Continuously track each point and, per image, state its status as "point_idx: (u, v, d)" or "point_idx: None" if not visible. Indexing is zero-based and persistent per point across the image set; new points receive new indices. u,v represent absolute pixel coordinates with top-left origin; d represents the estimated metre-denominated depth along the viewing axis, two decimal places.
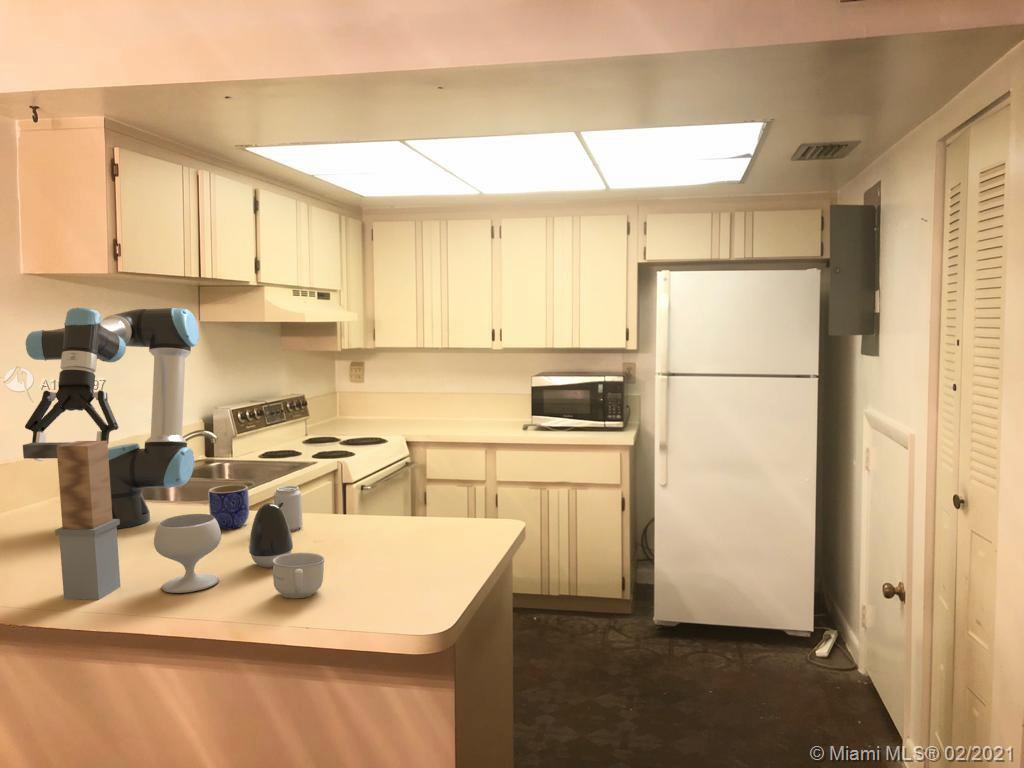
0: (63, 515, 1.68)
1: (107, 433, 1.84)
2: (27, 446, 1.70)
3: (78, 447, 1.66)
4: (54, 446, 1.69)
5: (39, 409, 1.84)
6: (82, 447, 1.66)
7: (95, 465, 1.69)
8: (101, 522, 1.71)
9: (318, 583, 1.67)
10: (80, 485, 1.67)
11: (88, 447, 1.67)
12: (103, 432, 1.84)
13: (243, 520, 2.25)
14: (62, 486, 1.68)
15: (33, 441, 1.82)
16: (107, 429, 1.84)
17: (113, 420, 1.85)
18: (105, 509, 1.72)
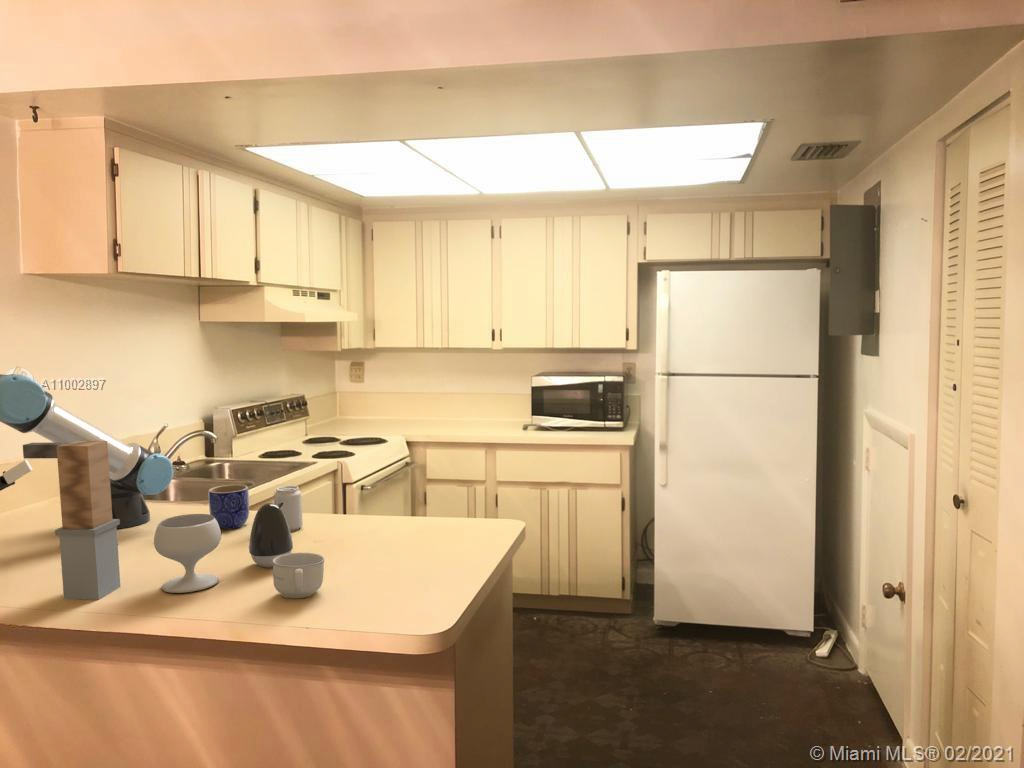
0: (63, 515, 1.68)
1: None
2: (27, 446, 1.70)
3: (78, 447, 1.66)
4: (54, 446, 1.69)
5: None
6: (82, 447, 1.66)
7: (95, 465, 1.69)
8: (101, 522, 1.71)
9: (318, 583, 1.67)
10: (80, 485, 1.67)
11: (88, 447, 1.67)
12: None
13: (243, 520, 2.25)
14: (62, 486, 1.68)
15: None
16: None
17: None
18: (105, 509, 1.72)
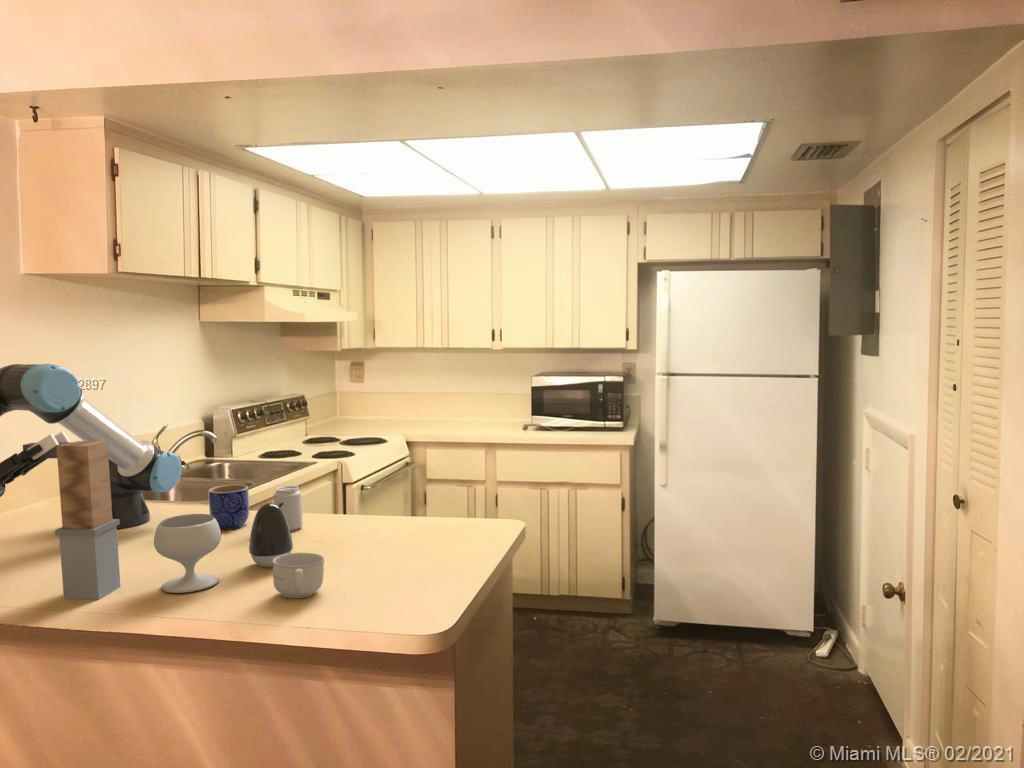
0: (63, 515, 1.68)
1: (28, 455, 1.68)
2: (27, 446, 1.70)
3: (78, 447, 1.66)
4: None
5: (34, 466, 1.77)
6: (82, 447, 1.66)
7: (95, 465, 1.69)
8: (101, 522, 1.71)
9: (318, 583, 1.67)
10: (80, 485, 1.67)
11: (88, 447, 1.67)
12: None
13: (243, 520, 2.25)
14: (62, 486, 1.68)
15: None
16: (27, 458, 1.68)
17: (11, 464, 1.66)
18: (105, 509, 1.72)
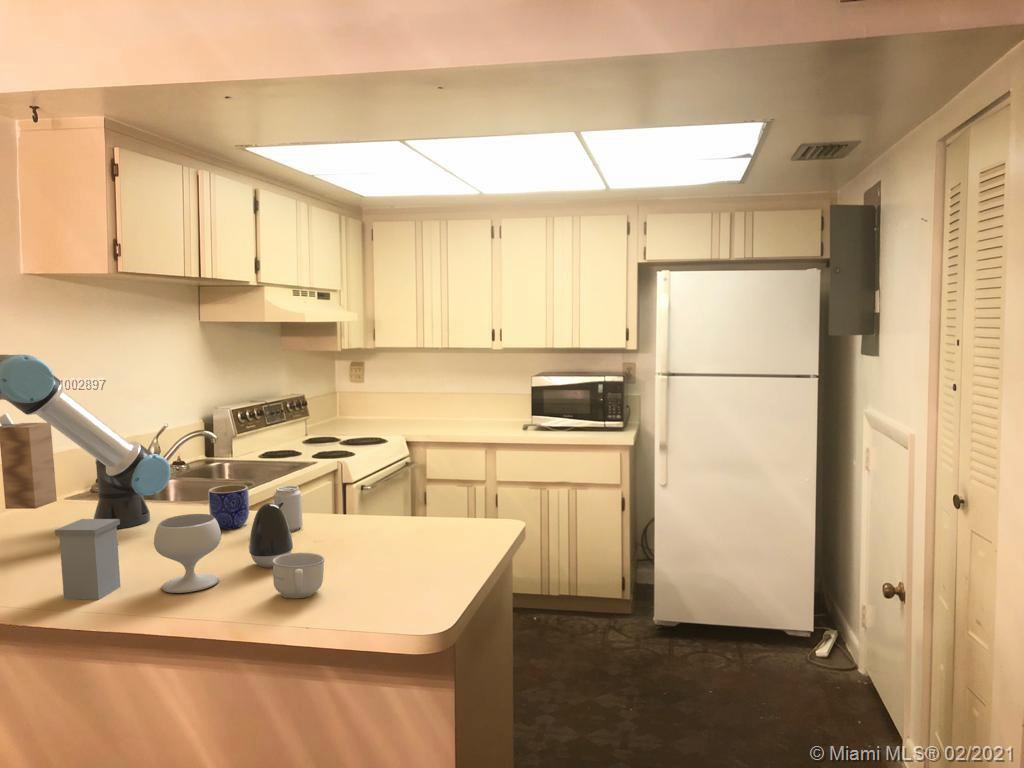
0: (6, 495, 1.71)
1: None
2: None
3: (20, 428, 1.69)
4: None
5: None
6: (24, 428, 1.69)
7: (37, 446, 1.72)
8: (44, 502, 1.73)
9: (318, 583, 1.67)
10: (22, 465, 1.70)
11: (30, 428, 1.69)
12: None
13: (243, 520, 2.25)
14: (5, 466, 1.70)
15: None
16: None
17: None
18: (48, 489, 1.75)
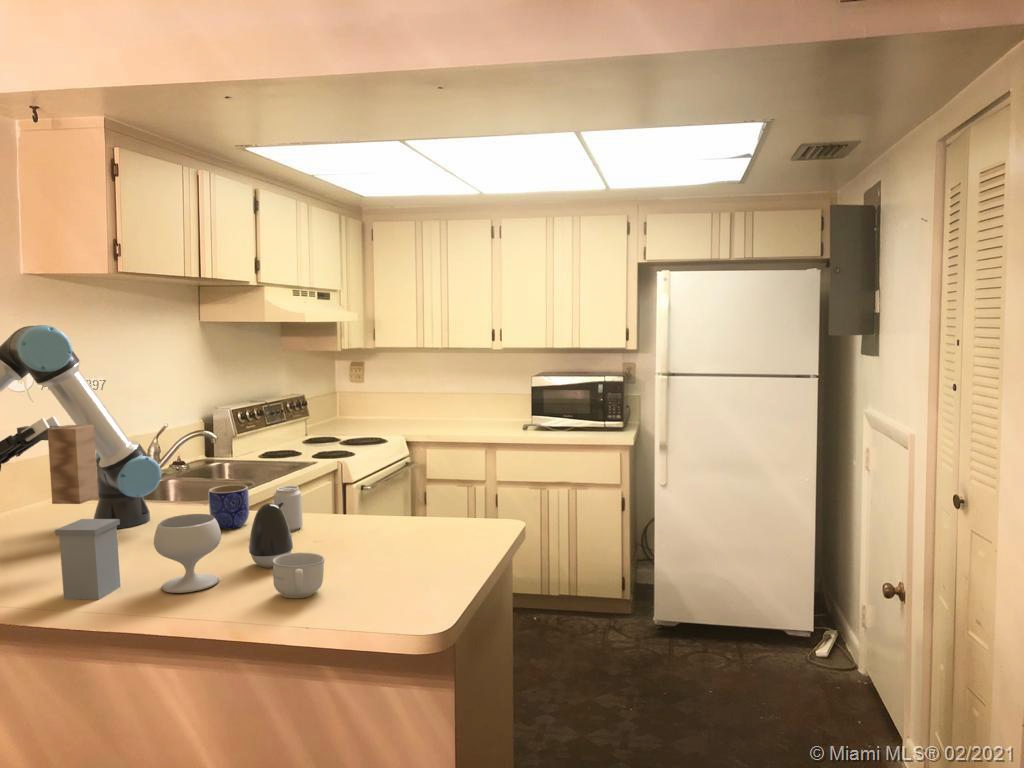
0: (53, 491, 1.86)
1: (21, 437, 1.85)
2: (21, 429, 1.87)
3: (67, 430, 1.84)
4: None
5: (27, 448, 1.94)
6: (70, 430, 1.84)
7: (82, 447, 1.87)
8: (87, 498, 1.88)
9: (318, 583, 1.67)
10: (68, 464, 1.85)
11: (76, 430, 1.84)
12: (24, 439, 1.86)
13: (243, 520, 2.25)
14: (52, 465, 1.85)
15: None
16: (21, 440, 1.86)
17: (6, 445, 1.84)
18: (91, 486, 1.90)
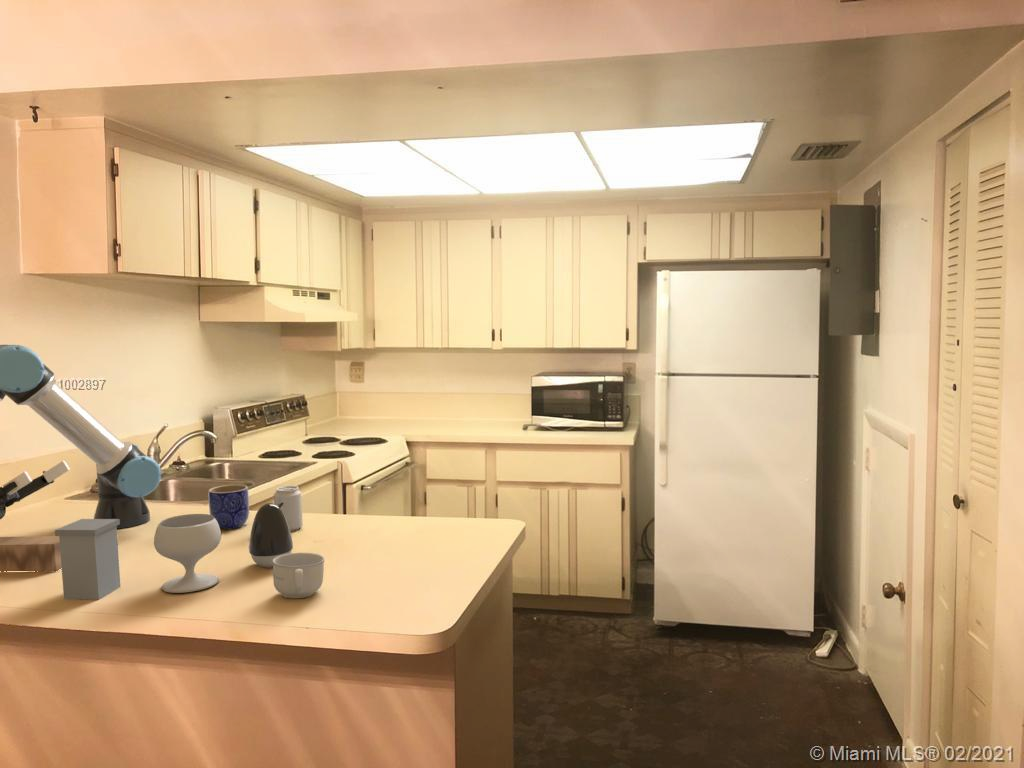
0: (44, 570, 1.88)
1: (3, 491, 1.82)
2: None
3: None
4: None
5: (33, 492, 1.98)
6: None
7: (5, 542, 1.90)
8: (58, 540, 1.90)
9: (318, 583, 1.67)
10: (15, 553, 1.88)
11: None
12: (6, 492, 1.83)
13: (243, 520, 2.25)
14: (17, 570, 1.88)
15: None
16: (1, 495, 1.82)
17: None
18: (53, 538, 1.92)
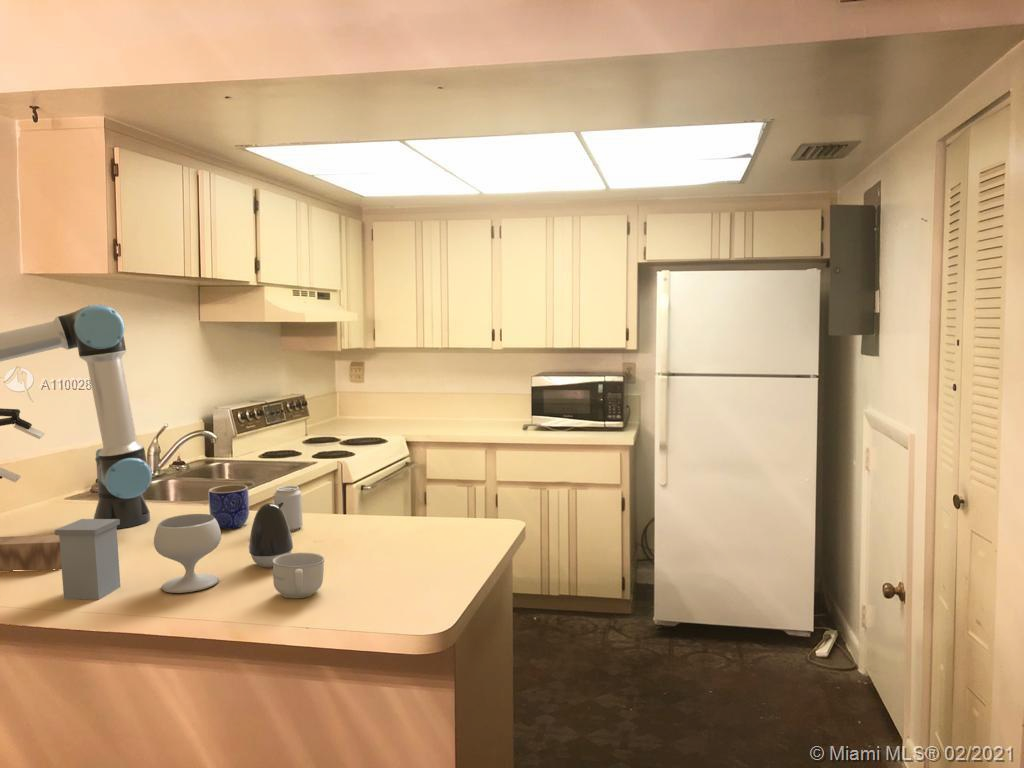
0: (49, 568, 1.90)
1: (20, 420, 1.98)
2: None
3: None
4: None
5: None
6: None
7: (7, 541, 1.91)
8: None
9: (318, 583, 1.67)
10: (19, 552, 1.89)
11: None
12: (17, 422, 1.97)
13: (243, 520, 2.25)
14: (21, 568, 1.89)
15: None
16: (15, 418, 1.97)
17: (9, 410, 1.96)
18: (56, 537, 1.94)
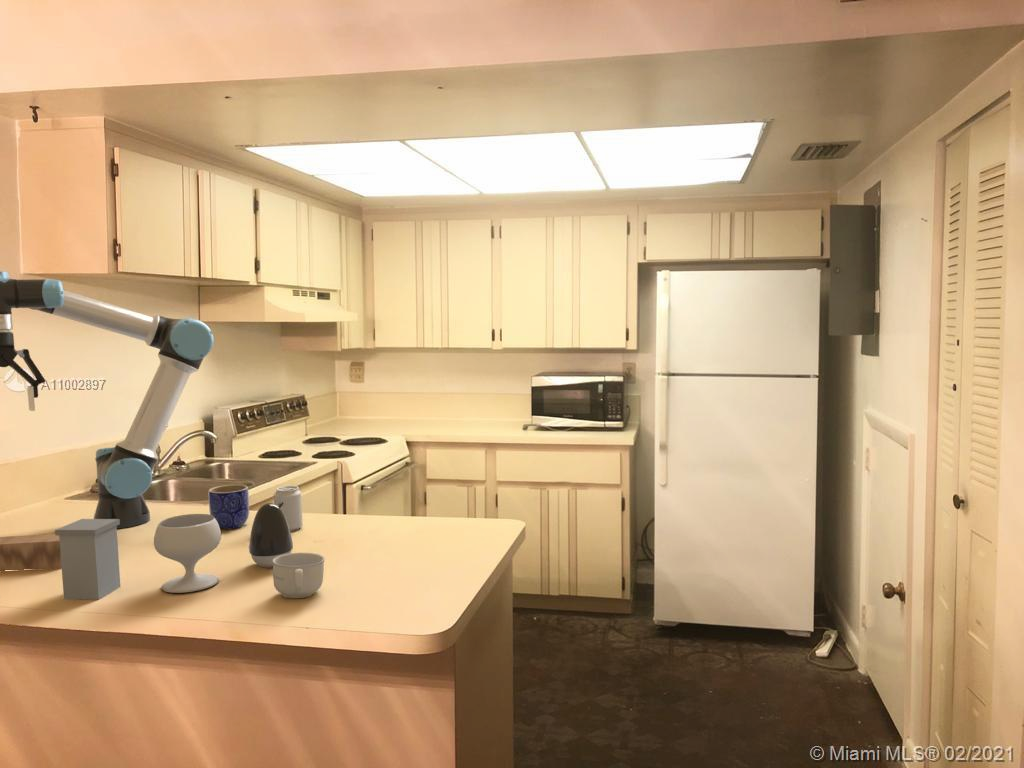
0: (52, 567, 1.91)
1: None
2: None
3: None
4: None
5: None
6: None
7: (8, 541, 1.91)
8: None
9: (318, 583, 1.67)
10: (21, 551, 1.89)
11: None
12: (34, 386, 2.08)
13: (243, 520, 2.25)
14: (24, 568, 1.90)
15: None
16: None
17: None
18: (57, 536, 1.95)
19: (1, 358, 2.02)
